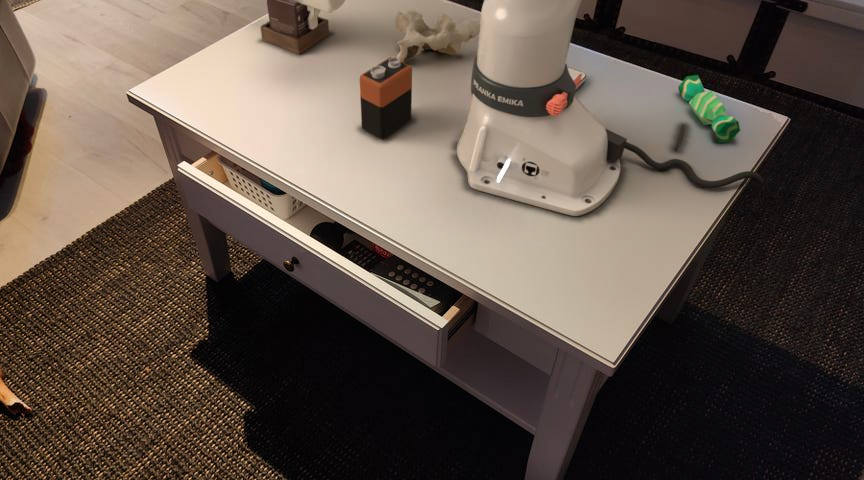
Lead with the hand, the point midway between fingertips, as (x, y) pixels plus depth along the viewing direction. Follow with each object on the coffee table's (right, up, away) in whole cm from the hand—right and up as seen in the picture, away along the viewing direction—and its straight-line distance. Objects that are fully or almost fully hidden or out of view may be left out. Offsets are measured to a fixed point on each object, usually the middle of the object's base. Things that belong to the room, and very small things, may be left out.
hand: (294, 21), depth 120 cm
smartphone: (+39, -11, -7) cm, 41 cm away
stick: (+57, -23, -19) cm, 64 cm away
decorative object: (+22, -6, -2) cm, 23 cm away
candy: (+60, -19, -17) cm, 66 cm away
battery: (+16, -21, -15) cm, 30 cm away
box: (0, -2, +2) cm, 3 cm away
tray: (0, -2, +2) cm, 3 cm away
